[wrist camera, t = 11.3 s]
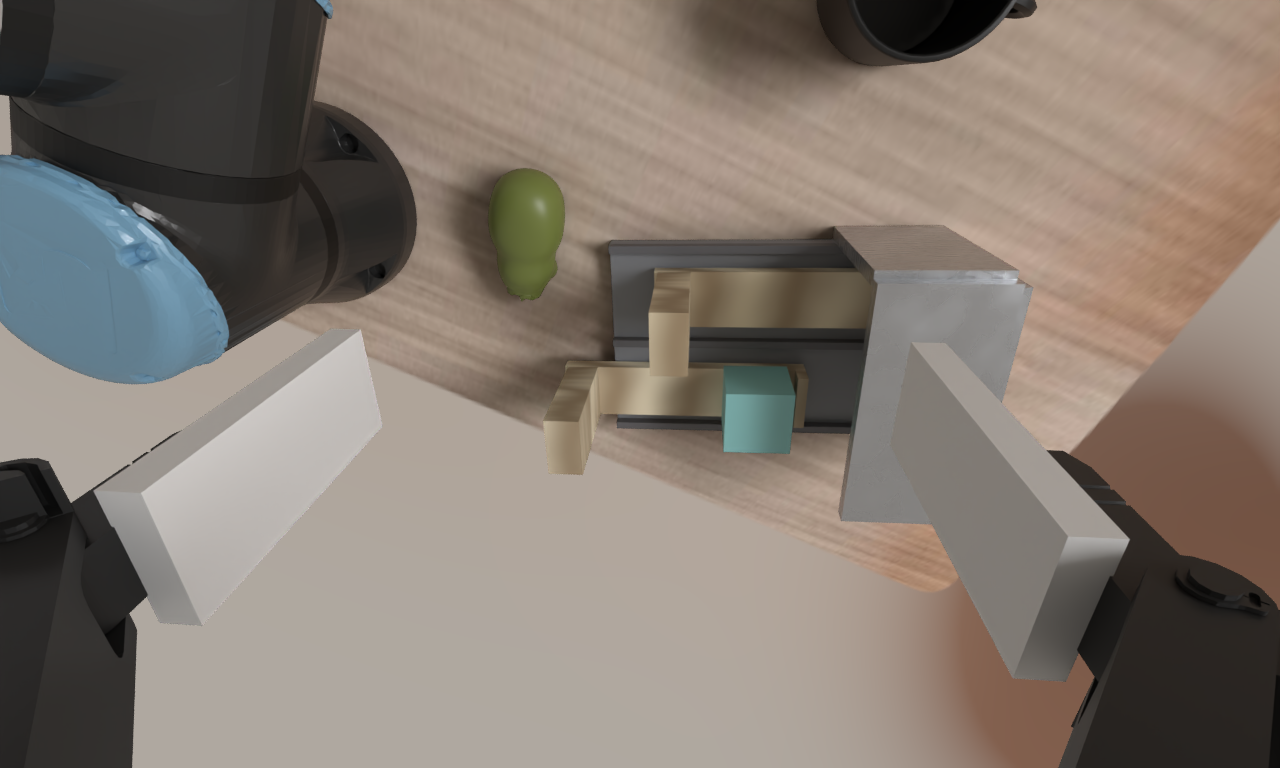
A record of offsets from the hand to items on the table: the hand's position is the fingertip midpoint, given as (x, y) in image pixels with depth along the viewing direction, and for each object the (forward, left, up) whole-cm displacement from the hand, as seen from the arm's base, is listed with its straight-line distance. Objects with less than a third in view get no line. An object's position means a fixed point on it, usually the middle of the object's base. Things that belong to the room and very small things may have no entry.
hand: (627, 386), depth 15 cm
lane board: (+7, -13, -35) cm, 37 cm away
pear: (-11, -4, -35) cm, 37 cm away
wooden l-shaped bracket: (+1, -17, -33) cm, 37 cm away
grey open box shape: (+17, -12, -35) cm, 40 cm away
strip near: (+8, -9, -33) cm, 35 cm away
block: (+7, -17, -32) cm, 36 cm away
